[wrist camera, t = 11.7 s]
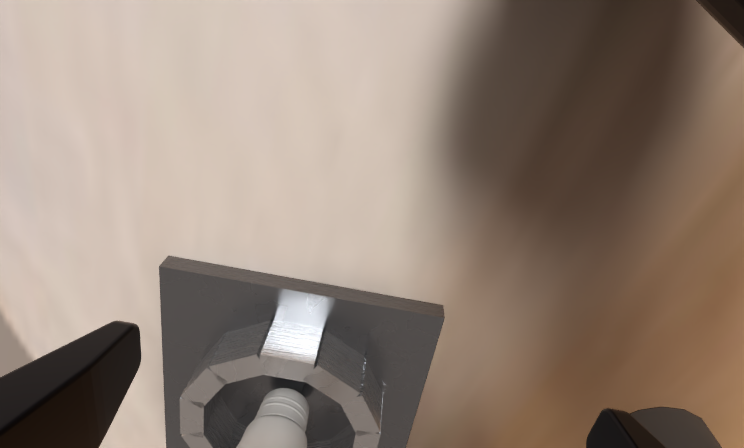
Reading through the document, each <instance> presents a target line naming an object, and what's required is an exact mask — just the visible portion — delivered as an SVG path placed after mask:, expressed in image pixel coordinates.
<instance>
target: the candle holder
mask: <svg viewBox="0 0 744 448" xmlns="http://www.w3.org/2000/svg"><path fill="white" fill-rule="evenodd" d="M630 415H631V416H633V417H634V418H635V419H636V420H637V421H638V422H639V423H640V424H641V425H642V426H643V427H644V428H646V429H647V430H648V431H649V432H650V433H651V434H652V435H653V436H654V437H655V438H656V439H658V440H659V441H660V442H661V443H662V444H663V445H664V446H665V447H666V448H722V447H721V446H720V444H719V443H718V441H717V440H716V438H715V437H714V435H713V434H712V433H711V431H710V430H709V428H708V427H707V425H706V424H705V423H704V421H703V420H702V418H700V417H698V416H696V415H694V414H692V413H690V412H688V411H686V410H683V409H675V408H667V407H658V408H651V409H644V410H638V411H636V412H634V413H631V414H630Z"/></svg>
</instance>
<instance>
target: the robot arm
mask: <svg viewBox="0 0 744 448" xmlns="http://www.w3.org/2000/svg"><path fill="white" fill-rule="evenodd" d="M696 1H697V2H698V3H699V4H700V5H701V6H702V7H703V8H704V9H705V10H706V11H707V12H708V13H709V14H710V15H711V16H712V17H713V18H714V19H715V20H716V21H717V22H718V23H719V24H720V25H721V26H722V27H723V28H724V29H725V30H726V31H727V32H728V33H729V34H730V35H731V36H732V37H733V38H734V39H735V40H736V41H737V42H738V43H739V44H740V45H741V46H742V47H743V48H744V0H696ZM140 362H141V345H140V331H139V327H138V326H137V325H136V324H134V323H129V322H123V321H113V322H111V323H109V324H107V325H105V326H103V327H101V328H99V329H97V330H95V331H93V332H91V333H89V334H87V335H85V336H83V337H81V338H79V339H77V340H75V341H73V342H71V343H69V344H67V345H65V346H62V347H60V348H58V349H56V350H54V351H52V352H50V353H48V354H46V355H44V356H42V357H40V358H38V359H36V360H34V361H32V362H30V363H28V364H26V365H24V366H22V367H20V368H18V369H16V370H14V371H12V372H10V373H8V374H6V375H4V376H2V377H0V448H99V446H100V444H101V442H102V441H103V439H104V437H105V435H106V433H107V431H108V429H109V427H110V425H111V423H112V421H113V419H114V417H115V415H116V413H117V411H118V409H119V407H120V405H121V403H122V401H123V399H124V397H125V395H126V393H127V391H128V389H129V387H130V385H131V383H132V381H133V379H134V377H135V375H136V373H137V371H138V368H139V366H140ZM586 448H666V447H665V446H664V445H663V444H662V443H661V442H660V441H659V440H658V439H656V438H655V437H654V436H653V435H652V434H651V433H650V432H649V431H648V430H647V429H646V428H644V427H643V426H642V425H641V424H640V423H639V422H638V421H637V420H636V419H635V418H634V417H633V416H631V415H630V414H629V413H627V412H625V411H621V410H615V409H610V408H606V409H604V410H602V411H601V413H600V415H599V416H598V418H597V420H596V422H595V424H594V425H593V427H592V429H591V431H590V433H589V435H588V437H587V442H586Z"/></svg>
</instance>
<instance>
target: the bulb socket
mask: <svg viewBox="0 0 744 448" xmlns="http://www.w3.org/2000/svg"><path fill="white" fill-rule="evenodd" d="M159 275H160V300H161V325H162V350H163V375H164V400H165V425H166V448H236V447H237V446H238V444H239V442H240V441H241V439H242V436H243V434H244V432H245V430H246V428H247V427H248V425H249V424H250V423H251V422H252V421H253V420H254V419H255V417H256V415H257V412H258V410H259V408H260V405H261V404H262V402H263V399H264V397H265V396H266V395H267V394H268V393H269V392H270V391H272V390H275V389H278V388H289V389H293V390H295V391H297V392H299V393H301V394H302V395H303V396H304V397H305V399H306V400H307V402H308V404H309V416H308V421H307V425H306V431H305V434H306V437H307V448H406V444H407V441H408V438H409V434H410V431H411V428H412V424H413V421H414V418H415V414H416V411H417V408H418V404H419V401H420V398H421V394H422V391H423V388H424V384H425V381H426V378H427V375H428V371H429V368H430V365H431V361H432V358H433V355H434V351H435V348H436V345H437V341H438V338H439V335H440V331H441V328H442V325H443V321H444V309H443V305H437V304H432V303H426V302H421V301H415V300H410V299H404V298H399V297H393V296H388V295H382V294H377V293H371V292H366V291H360V290H355V289H349V288H343V287H338V286H332V285H327V284H321V283H316V282H310V281H305V280H299V279H294V278H288V277H283V276H277V275H272V274H266V273H261V272H255V271H250V270H244V269H238V268H233V267H227V266H222V265H216V264H211V263H205V262H200V261H194V260H189V259H183V258H178V257H172V256H168V257H167V258H166V259H165V260H164V261H163V263H162V264H161V265H160V266H159Z"/></svg>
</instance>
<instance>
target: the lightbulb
mask: <svg viewBox="0 0 744 448" xmlns="http://www.w3.org/2000/svg"><path fill="white" fill-rule="evenodd" d="M308 416H309V404H308V402H307V400H306V399H305V397H304V396H303V395H302V394H301V393H299V392H297V391H295V390H293V389H289V388H278V389H275V390H272V391H270V392H269V393H268V394H267V395H266V396H265V397H264V399H263V402H262V404H261V405H260V408H259V410H258V412H257V415H256V417H255V419H254V420H253V421H252V422H251V423H250V424H249V425H248V427H247V428H246V430H245V432H244V434H243V436H242V439H241V441H240V442H239V444H238V446H237V447H236V448H307V437H306V434H305V431H306V425H307V421H308Z"/></svg>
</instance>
